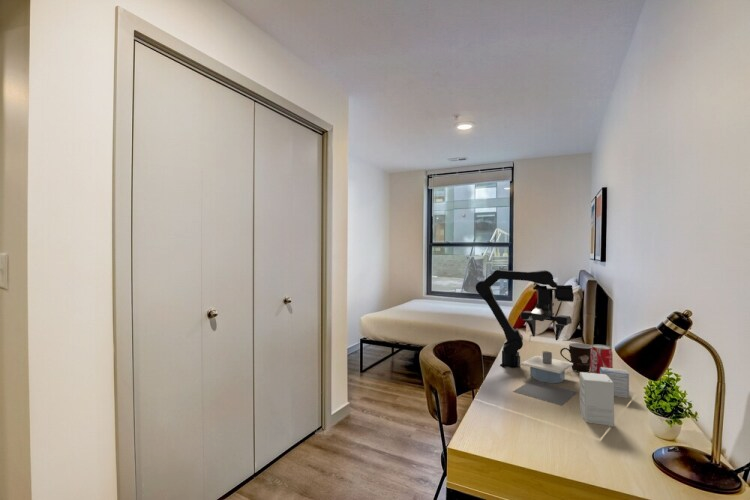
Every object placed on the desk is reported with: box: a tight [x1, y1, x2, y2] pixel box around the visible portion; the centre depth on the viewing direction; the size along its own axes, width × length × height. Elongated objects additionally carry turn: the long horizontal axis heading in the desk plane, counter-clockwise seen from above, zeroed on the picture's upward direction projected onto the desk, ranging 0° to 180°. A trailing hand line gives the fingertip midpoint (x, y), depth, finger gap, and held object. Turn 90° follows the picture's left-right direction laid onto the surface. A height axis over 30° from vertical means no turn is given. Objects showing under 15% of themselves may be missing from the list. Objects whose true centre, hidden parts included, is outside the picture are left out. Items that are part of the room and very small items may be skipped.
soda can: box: [589, 343, 614, 374], centre depth 138 cm, size 7×7×13 cm
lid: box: [520, 351, 573, 374], centre depth 139 cm, size 14×14×5 cm
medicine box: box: [600, 367, 630, 399], centre depth 124 cm, size 8×4×9 cm, turn 65°
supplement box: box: [579, 372, 615, 428], centre depth 105 cm, size 7×7×13 cm
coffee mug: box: [559, 342, 592, 373], centre depth 151 cm, size 12×9×10 cm
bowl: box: [529, 367, 566, 384], centre depth 139 cm, size 11×11×6 cm
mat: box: [512, 379, 579, 407], centre depth 125 cm, size 16×16×1 cm
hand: (545, 338), depth 150 cm, fingers open, 9 cm apart
